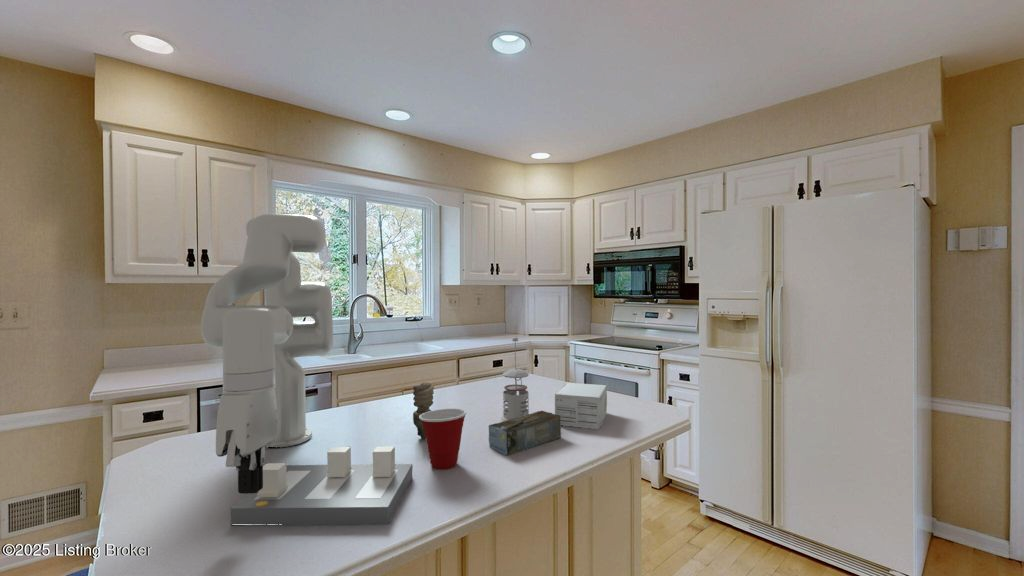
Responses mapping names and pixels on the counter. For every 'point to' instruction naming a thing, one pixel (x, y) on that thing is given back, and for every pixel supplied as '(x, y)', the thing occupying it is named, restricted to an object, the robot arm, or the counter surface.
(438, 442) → the plastic cup
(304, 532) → the counter surface
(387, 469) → the block
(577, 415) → the supplement box
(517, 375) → the french press
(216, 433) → the robot arm
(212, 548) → the counter surface
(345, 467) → the block
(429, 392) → the light bulb
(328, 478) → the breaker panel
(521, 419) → the beverage carton
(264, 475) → the breaker left
